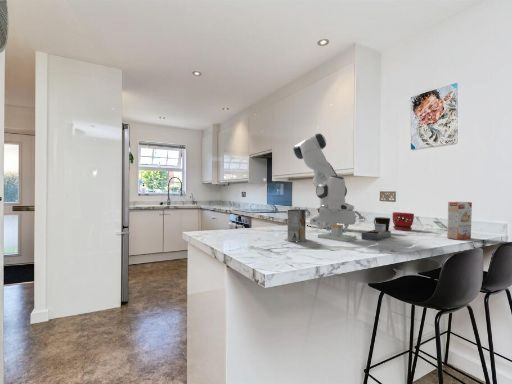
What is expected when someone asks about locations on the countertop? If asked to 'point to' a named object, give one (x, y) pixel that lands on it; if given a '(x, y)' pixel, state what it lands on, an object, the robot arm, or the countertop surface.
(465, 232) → the cracker box
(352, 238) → the tray
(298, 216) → the coffee box
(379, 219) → the coffee mug
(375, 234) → the power strip
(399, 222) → the plant pot
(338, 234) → the plug
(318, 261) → the countertop surface
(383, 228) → the twin plug
